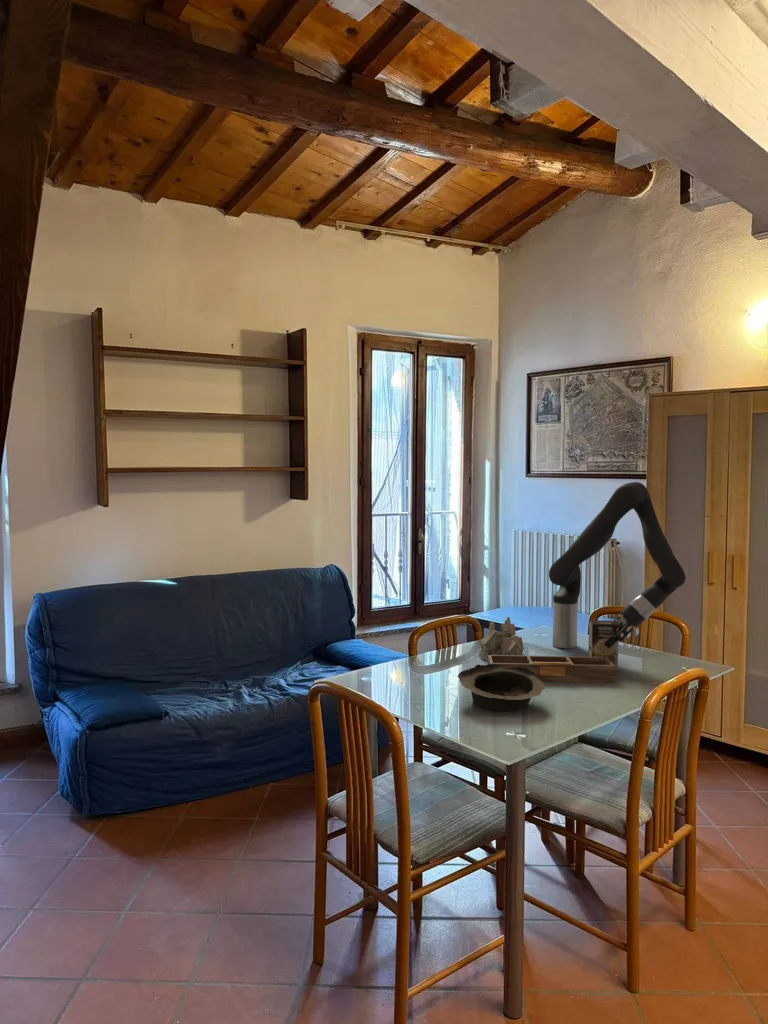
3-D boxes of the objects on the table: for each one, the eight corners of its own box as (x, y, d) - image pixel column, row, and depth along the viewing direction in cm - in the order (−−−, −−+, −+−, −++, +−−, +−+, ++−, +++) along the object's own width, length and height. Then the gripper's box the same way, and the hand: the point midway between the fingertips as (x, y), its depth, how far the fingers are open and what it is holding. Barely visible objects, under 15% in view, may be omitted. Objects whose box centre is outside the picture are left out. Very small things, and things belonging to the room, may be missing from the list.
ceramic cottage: (477, 652, 273) (479, 613, 271) (521, 655, 271) (524, 616, 269) (479, 666, 257) (482, 625, 255) (526, 669, 256) (529, 628, 254)
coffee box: (590, 670, 249) (591, 623, 248) (587, 665, 256) (588, 619, 255) (618, 670, 249) (619, 624, 248) (614, 665, 255) (615, 620, 254)
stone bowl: (486, 685, 232) (488, 657, 231) (557, 707, 216) (560, 677, 215) (442, 703, 213) (444, 673, 212) (517, 729, 197) (520, 696, 196)
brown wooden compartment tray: (487, 670, 249) (488, 653, 248) (607, 673, 246) (607, 655, 245) (490, 680, 237) (490, 662, 237) (615, 683, 234) (615, 664, 234)
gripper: (625, 599, 257) (591, 630, 259) (636, 607, 243) (600, 640, 245) (640, 614, 257) (606, 645, 259) (652, 623, 243) (616, 656, 245)
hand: (603, 643), depth 252 cm, fingers open, 8 cm apart
